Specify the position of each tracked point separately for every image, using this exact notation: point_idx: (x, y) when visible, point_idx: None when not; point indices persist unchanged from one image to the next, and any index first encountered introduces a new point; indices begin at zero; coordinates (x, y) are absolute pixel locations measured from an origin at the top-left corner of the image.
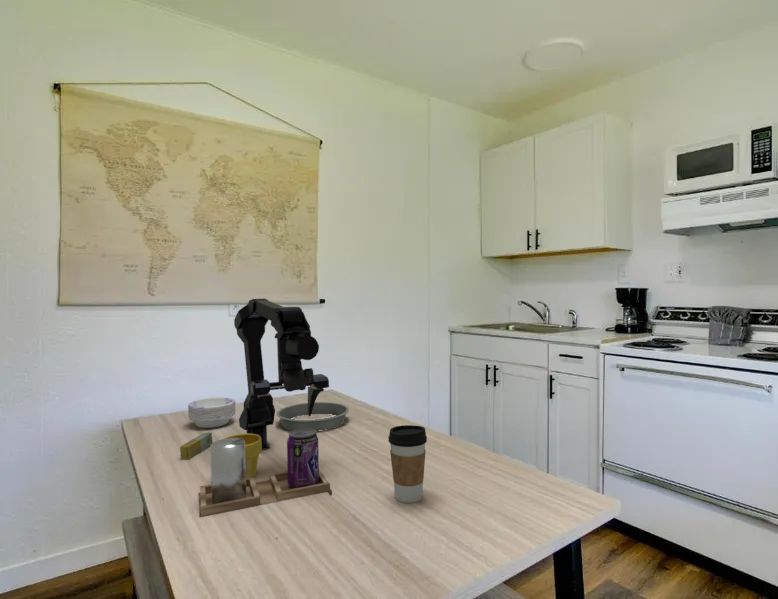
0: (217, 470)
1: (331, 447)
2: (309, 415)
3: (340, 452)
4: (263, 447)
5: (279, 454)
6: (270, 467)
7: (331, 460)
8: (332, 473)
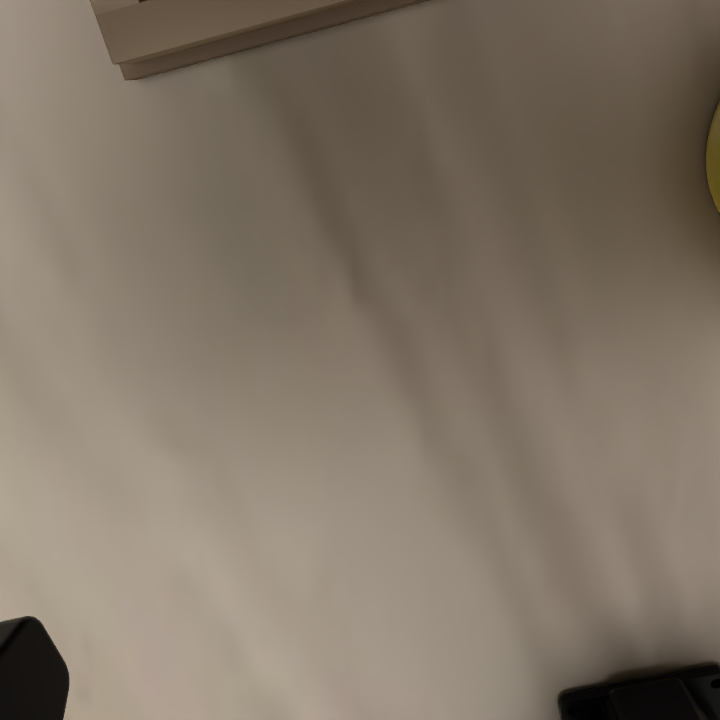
0: None
1: (95, 643)
2: (14, 624)
3: (5, 543)
4: (607, 697)
5: (489, 586)
6: (564, 353)
7: (58, 399)
8: (3, 98)
